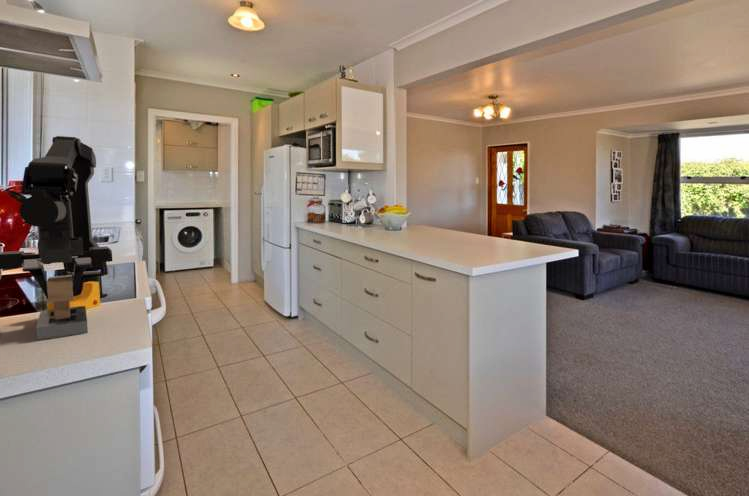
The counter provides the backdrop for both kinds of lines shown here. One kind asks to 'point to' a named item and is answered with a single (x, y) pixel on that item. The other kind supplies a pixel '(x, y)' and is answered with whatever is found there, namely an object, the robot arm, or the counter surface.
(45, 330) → the rail plate
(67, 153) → the robot arm
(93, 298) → the pipe clamp
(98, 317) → the counter surface
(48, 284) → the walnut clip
